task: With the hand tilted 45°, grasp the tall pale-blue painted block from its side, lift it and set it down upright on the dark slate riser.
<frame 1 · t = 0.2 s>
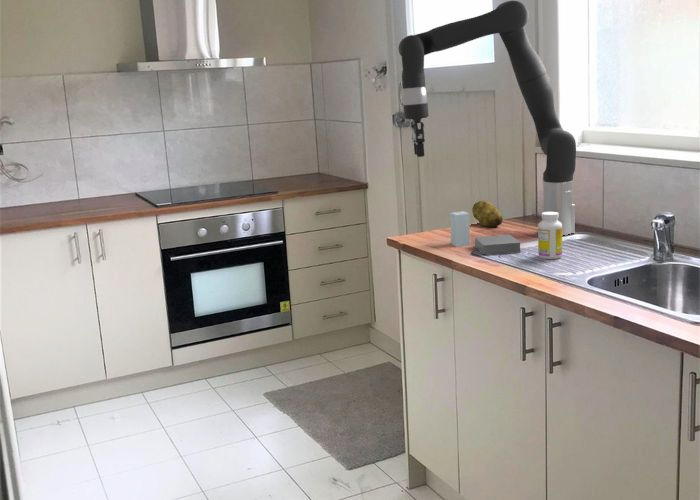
hand: (419, 155, 242), 28 cm above the table, tool pointing down, fingers open, 8 cm apart
riser: (497, 249, 236), on the table
potato: (487, 225, 270), on the table
supplement bottle: (550, 257, 224), on the table
block: (460, 244, 245), on the table
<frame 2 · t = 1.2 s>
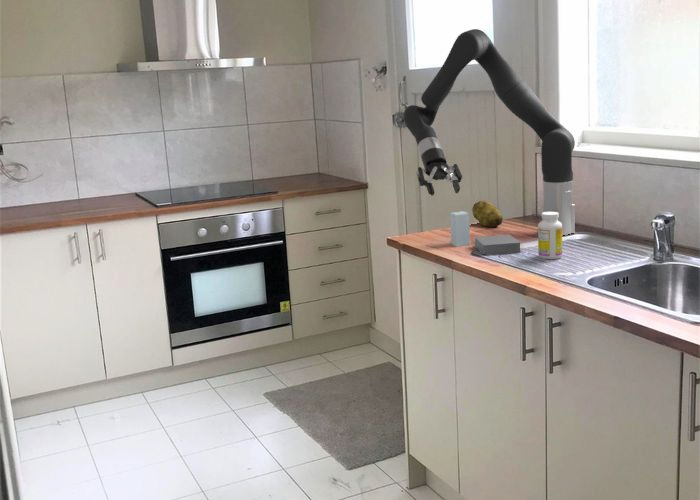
hand: (445, 193, 252), 15 cm above the table, tool tilted 45°, fingers open, 8 cm apart
nothing on the table moved.
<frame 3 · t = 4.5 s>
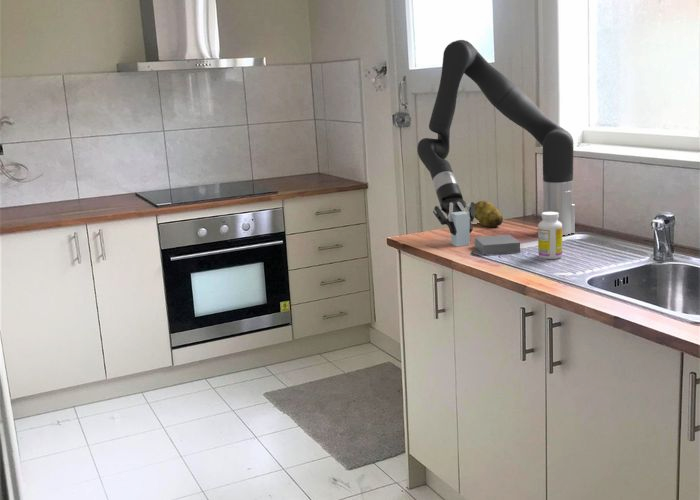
hand: (462, 232, 242), 4 cm above the table, tool tilted 45°, fingers closed on block, 4 cm apart
block: (460, 244, 245), on the table, touching gripper
everything else where it was.
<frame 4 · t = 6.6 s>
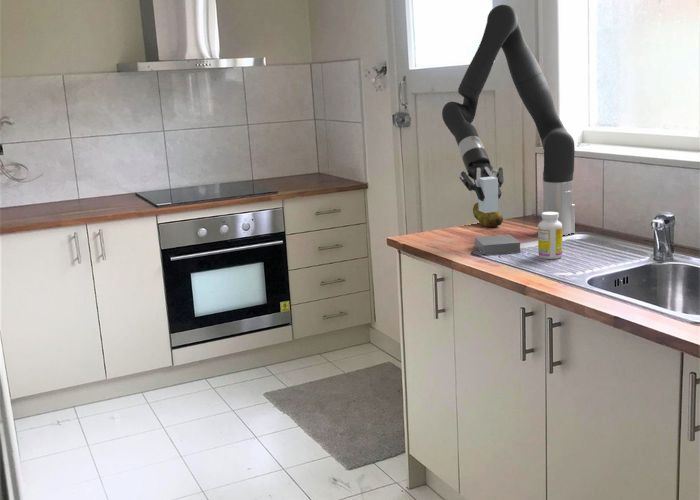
hand: (491, 198, 232), 16 cm above the table, tool tilted 45°, fingers closed on block, 4 cm apart
block: (488, 210, 235), point 12 cm above the table, touching gripper
everything else where it was.
when the fingers open (9 cm above the table, at t = 8.7 s): block drops 1 cm, resting on riser.
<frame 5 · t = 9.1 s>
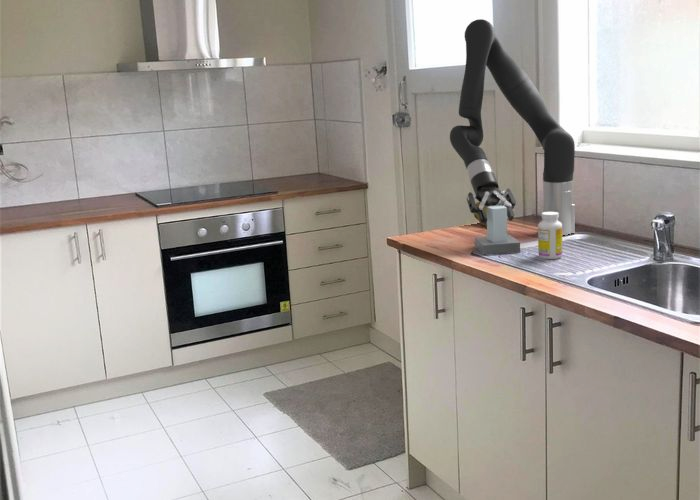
hand: (498, 220, 232), 9 cm above the table, tool tilted 45°, fingers open, 8 cm apart
block: (497, 239, 235), point 3 cm above the table, touching riser
everything else where it was.
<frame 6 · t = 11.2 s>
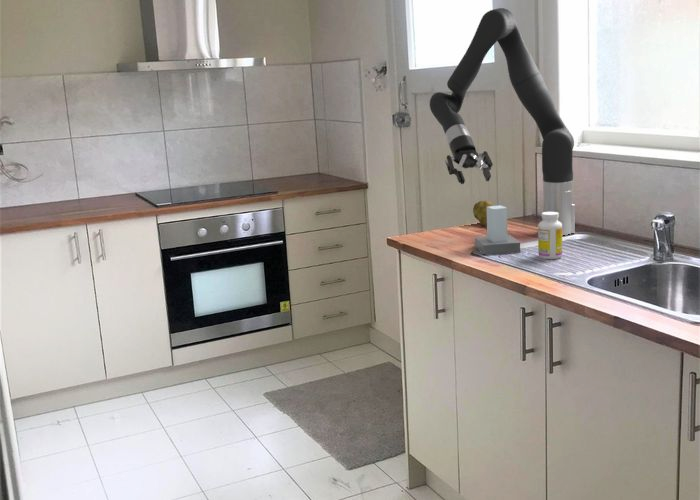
hand: (476, 181, 244), 19 cm above the table, tool tilted 45°, fingers open, 8 cm apart
nothing on the table moved.
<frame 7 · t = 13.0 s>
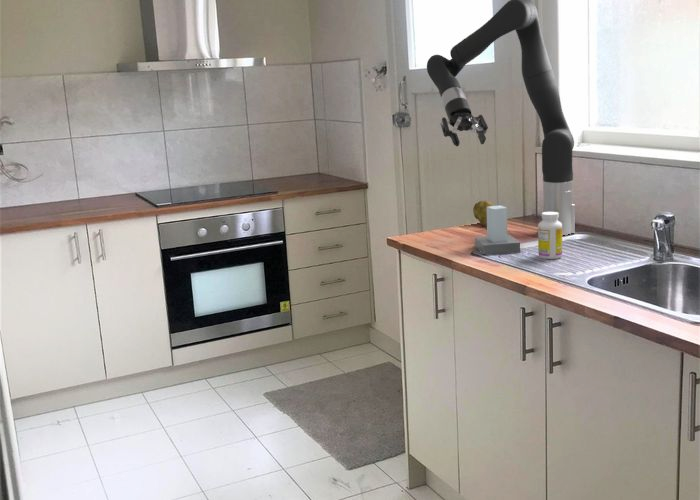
hand: (470, 143, 243), 31 cm above the table, tool tilted 45°, fingers open, 8 cm apart
nothing on the table moved.
at the end: block inside the target area on the riser (0.1 cm from its centre), point 3.0 cm above the riser's base; block tilted 0°; the gripper is holding nothing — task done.
